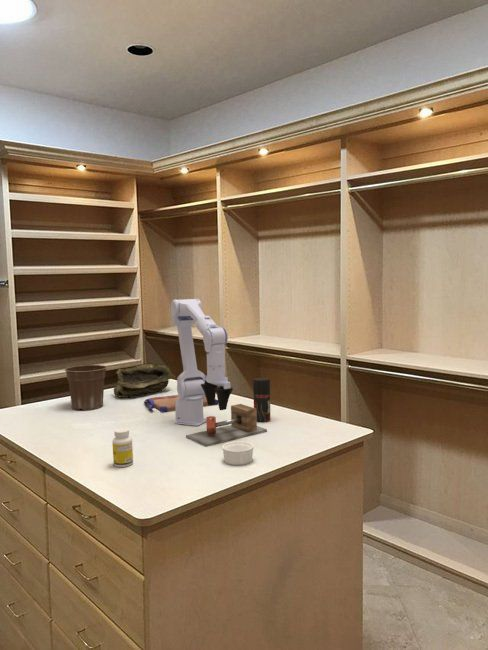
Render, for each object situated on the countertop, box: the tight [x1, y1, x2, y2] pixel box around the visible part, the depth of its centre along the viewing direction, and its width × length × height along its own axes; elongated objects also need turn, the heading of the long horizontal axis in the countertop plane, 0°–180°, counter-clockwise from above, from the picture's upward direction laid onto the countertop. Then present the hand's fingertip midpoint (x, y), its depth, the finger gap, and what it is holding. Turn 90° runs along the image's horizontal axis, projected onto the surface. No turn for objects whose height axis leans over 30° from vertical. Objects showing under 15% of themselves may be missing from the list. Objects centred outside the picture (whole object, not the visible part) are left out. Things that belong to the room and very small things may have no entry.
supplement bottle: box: [111, 427, 134, 468], centre depth 150 cm, size 5×5×10 cm
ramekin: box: [221, 440, 255, 466], centre depth 152 cm, size 9×9×4 cm
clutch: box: [143, 394, 218, 414], centre depth 219 cm, size 28×5×20 cm
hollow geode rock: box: [113, 362, 173, 398], centre depth 241 cm, size 28×13×15 cm
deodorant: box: [252, 377, 272, 423], centre depth 192 cm, size 6×6×15 cm
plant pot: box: [64, 364, 108, 411], centre depth 217 cm, size 16×16×16 cm
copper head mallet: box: [205, 415, 242, 435], centre depth 177 cm, size 18×3×5 cm, turn 126°
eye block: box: [185, 403, 268, 447], centre depth 176 cm, size 24×12×8 cm, turn 126°
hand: (216, 407), depth 173 cm, fingers open, 7 cm apart
